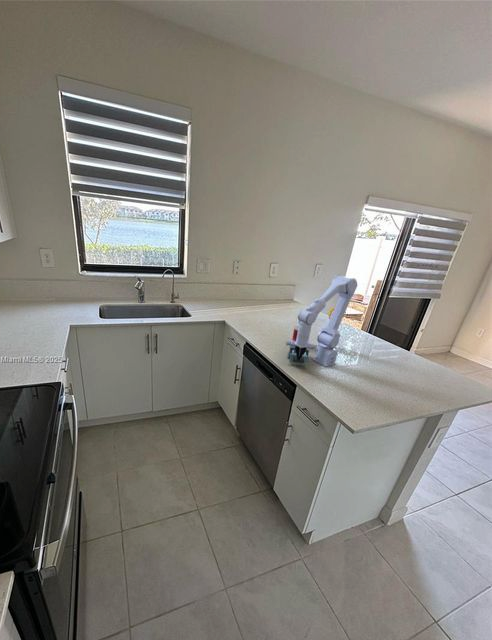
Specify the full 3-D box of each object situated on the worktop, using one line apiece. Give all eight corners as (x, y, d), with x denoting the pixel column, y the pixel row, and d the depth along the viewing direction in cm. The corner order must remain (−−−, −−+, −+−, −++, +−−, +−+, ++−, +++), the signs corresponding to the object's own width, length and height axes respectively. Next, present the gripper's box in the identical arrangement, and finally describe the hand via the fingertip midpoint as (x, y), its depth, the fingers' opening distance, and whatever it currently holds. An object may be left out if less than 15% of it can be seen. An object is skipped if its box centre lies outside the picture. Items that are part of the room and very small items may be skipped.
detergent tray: (305, 368, 142) (307, 359, 140) (288, 365, 144) (290, 357, 142) (305, 358, 153) (307, 350, 151) (289, 356, 155) (291, 347, 153)
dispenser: (306, 361, 152) (309, 350, 149) (288, 358, 154) (290, 347, 151) (306, 355, 160) (309, 344, 158) (289, 352, 162) (291, 341, 160)
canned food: (301, 349, 168) (305, 331, 163) (289, 345, 172) (292, 328, 167) (306, 345, 173) (310, 328, 169) (294, 342, 177) (297, 325, 173)
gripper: (287, 335, 137) (282, 361, 142) (319, 340, 134) (313, 366, 139) (288, 330, 143) (283, 355, 148) (318, 335, 140) (312, 360, 145)
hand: (298, 360), depth 144 cm, fingers closed, pressing on detergent tray
